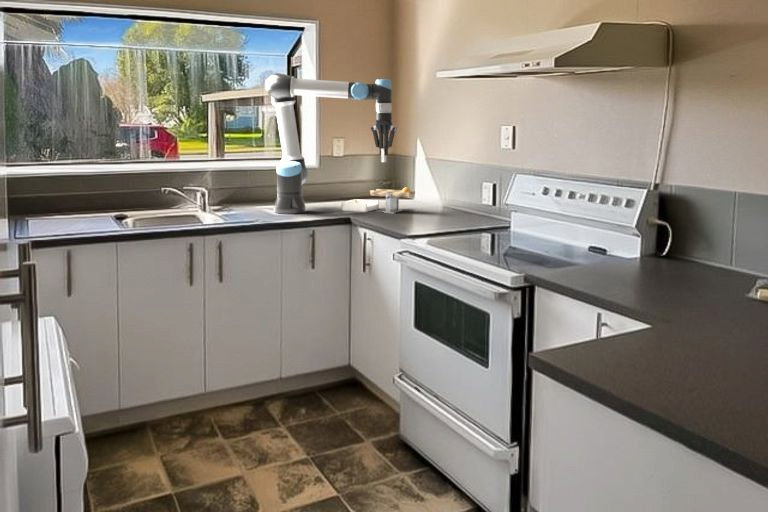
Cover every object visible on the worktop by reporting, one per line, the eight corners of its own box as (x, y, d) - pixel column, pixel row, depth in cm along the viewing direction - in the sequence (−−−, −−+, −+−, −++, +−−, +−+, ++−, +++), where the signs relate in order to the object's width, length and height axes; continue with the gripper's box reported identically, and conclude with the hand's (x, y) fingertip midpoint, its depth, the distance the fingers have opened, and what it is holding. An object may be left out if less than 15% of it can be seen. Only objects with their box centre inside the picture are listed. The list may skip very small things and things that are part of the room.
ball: (401, 194, 350) (401, 187, 349) (404, 194, 353) (404, 186, 352) (408, 195, 348) (408, 187, 347) (410, 194, 351) (411, 187, 351)
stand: (381, 212, 351) (381, 193, 349) (391, 209, 361) (391, 191, 359) (393, 213, 349) (393, 193, 347) (402, 210, 359) (402, 191, 357)
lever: (369, 195, 354) (369, 190, 354) (381, 192, 367) (381, 187, 366) (408, 197, 346) (408, 192, 346) (419, 194, 359) (420, 189, 358)
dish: (341, 210, 358) (341, 202, 357) (354, 207, 371) (354, 199, 370) (366, 212, 353) (366, 203, 352) (378, 208, 365) (378, 200, 365)
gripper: (368, 112, 355) (368, 162, 359) (393, 112, 349) (393, 162, 354) (374, 112, 361) (374, 161, 366) (399, 112, 356) (399, 161, 361)
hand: (383, 162), depth 360 cm, fingers closed
